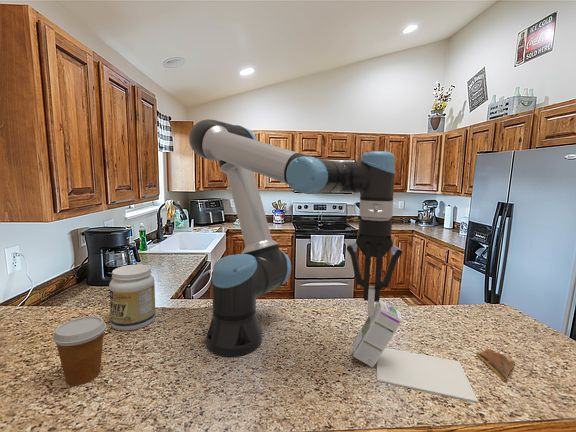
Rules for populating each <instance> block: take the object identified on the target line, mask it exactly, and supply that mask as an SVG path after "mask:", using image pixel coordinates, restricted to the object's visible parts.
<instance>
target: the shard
mask: <svg viewBox="0 0 576 432" xmlns="http://www.w3.org/2000/svg"><path fill="white" fill-rule="evenodd" d="M476 357H477V358H478V359H480V360H481V361H482V362H484V364H485V365H486V366H487V367H488V369H490V370H491V371H492V372H493V373H494V374H495V375H496V376H497V377H498V378H499V379H501V381H503V382H506V380H507V378H508V375H509V373H511V371H512V369H513V368H514V366H515V364H516V361H515V360H514V359H512V358H511V357H510V356H507V355H505V354H503V353H501V352H499V351H498V352H497V351H495V350H492V349H490V348H484V350H482V351H480V352H477V353H476Z"/></svg>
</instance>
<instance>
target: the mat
mask: <svg viewBox="0 0 576 432" xmlns="http://www.w3.org/2000/svg"><path fill="white" fill-rule="evenodd" d="M376 381H377V382H379V383H384V384H389V385H393V386H397V387H402V388H407V389H411V390H416V391H420V392H425V393H429V394H430V393H431V394H434V395H440V396H444V397H449V398H453V399H457V400H463V401H466V402H471V403H476V404H478V403H479V400H478V398H477V396H476V394H475V391H474V389H473V388H472V386H471V383H470V381H469V378H468V377H467V374H466V373H465V370H464V368H463V366H462V364H461V361H460V360H454V359H450V358H449V359H448V358H443V357H438V356H432V355H427V354H421V353H416V352H410V351H404V350H399V349H394V348H390V347H389V348H388V347H386V348H385V349H384V351H383V353H382V354H381V356H380V357H379V359H378V360H377V362H376Z"/></svg>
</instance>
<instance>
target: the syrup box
mask: <svg viewBox="0 0 576 432" xmlns="http://www.w3.org/2000/svg"><path fill="white" fill-rule="evenodd" d="M402 322H403V318H402V316H401V313H400V311H399V309H398V308H396V307H395V306H393V305H391V304H389V303H388V302H385V301H383V300H380V299H379V302H376V303H375V304H374V316H371V315H368V317H367V318H366V320H365V321H364V323H363V325H362V327H361V329H360V330H359V331H358V333H357V335H356V337H355V338H354V340H353V342H352V356H353V357H354V358H356V359H357V360H359V361H360V362H362V363H364V364H366V365H367V366H369V367H370V368H374V366H375V365H377V360H378V359H379V357H380V356H381V354H382V353H383V351H384V349H385V348H387V346H388V344H389V343H390V341H391V340H392V338H393V336H394V335H395V333H396V331H398V328H399V327H400V325H401V324H402Z"/></svg>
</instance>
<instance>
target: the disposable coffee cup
mask: <svg viewBox="0 0 576 432" xmlns="http://www.w3.org/2000/svg"><path fill="white" fill-rule="evenodd" d="M106 329H107V324H106V322H105V321H104V319H103V318H102V317H100V316H95V315H91V316H82V317H78V318H74V319H70V320H68V321H66V322H64V323H62V324H59V326H58V327H56V329H55V332H54V334H53V335H52V341H53V342H54V343H55V344H56V348H57V352H58V355H59V359H60V363H61V369H62V372H63V376H64V379H65V380H64V381H65V384H67V385H68V386H81V385H84V384H87V383H89V382H91V381H93V380H94V379H96V378H98V376H99V375H100V373H101V368H102V367H101V365H102V355H103V346H104V334H105V331H106Z"/></svg>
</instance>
